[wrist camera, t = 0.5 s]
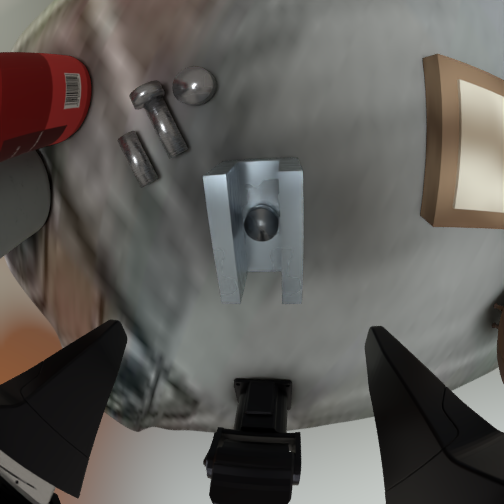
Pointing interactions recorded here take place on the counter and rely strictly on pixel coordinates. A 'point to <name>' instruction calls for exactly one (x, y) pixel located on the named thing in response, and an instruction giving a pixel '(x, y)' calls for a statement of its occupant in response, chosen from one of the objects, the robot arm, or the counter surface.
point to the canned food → (40, 100)
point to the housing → (256, 223)
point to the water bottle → (22, 199)
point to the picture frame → (463, 146)
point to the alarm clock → (500, 340)
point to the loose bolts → (164, 117)
